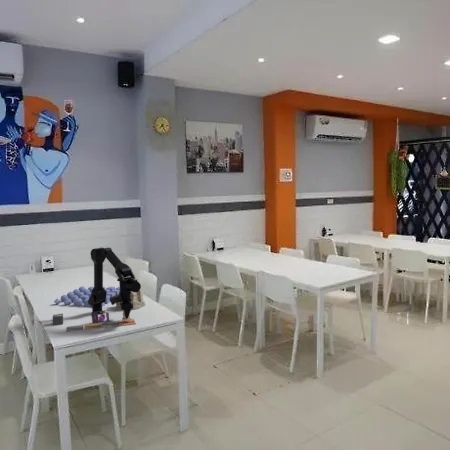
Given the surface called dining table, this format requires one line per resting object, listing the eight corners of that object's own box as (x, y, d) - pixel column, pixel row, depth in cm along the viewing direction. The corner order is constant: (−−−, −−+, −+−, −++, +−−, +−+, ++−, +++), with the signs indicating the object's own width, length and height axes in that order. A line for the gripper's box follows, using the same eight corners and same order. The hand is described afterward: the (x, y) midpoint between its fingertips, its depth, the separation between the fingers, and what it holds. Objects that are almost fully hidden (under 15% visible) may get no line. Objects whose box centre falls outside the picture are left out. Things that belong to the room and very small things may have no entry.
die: (53, 323, 236) (53, 314, 236) (63, 322, 238) (62, 313, 237) (53, 326, 231) (52, 317, 231) (62, 325, 233) (62, 315, 232)
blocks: (101, 308, 265) (100, 300, 264) (51, 306, 272) (51, 299, 271) (125, 293, 299) (125, 286, 298) (81, 292, 306) (80, 285, 305)
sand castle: (149, 304, 268) (146, 281, 267) (131, 312, 254) (128, 288, 253) (130, 303, 276) (127, 280, 275) (112, 311, 262) (109, 287, 260)
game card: (91, 312, 233) (108, 309, 237) (90, 312, 238) (107, 310, 241) (92, 324, 232) (109, 322, 235) (91, 325, 236) (108, 322, 240)
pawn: (121, 318, 236) (121, 306, 235) (130, 317, 237) (130, 305, 236) (122, 321, 231) (121, 308, 230) (131, 320, 232) (130, 307, 232)
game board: (66, 327, 229) (66, 326, 229) (133, 319, 240) (133, 318, 239) (66, 332, 221) (65, 332, 221) (135, 324, 231) (135, 323, 231)
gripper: (109, 287, 239) (110, 314, 240) (110, 295, 221) (112, 324, 223) (129, 285, 242) (130, 311, 244) (132, 293, 224) (133, 321, 226)
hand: (126, 317), depth 234 cm, fingers closed on pawn, 4 cm apart
